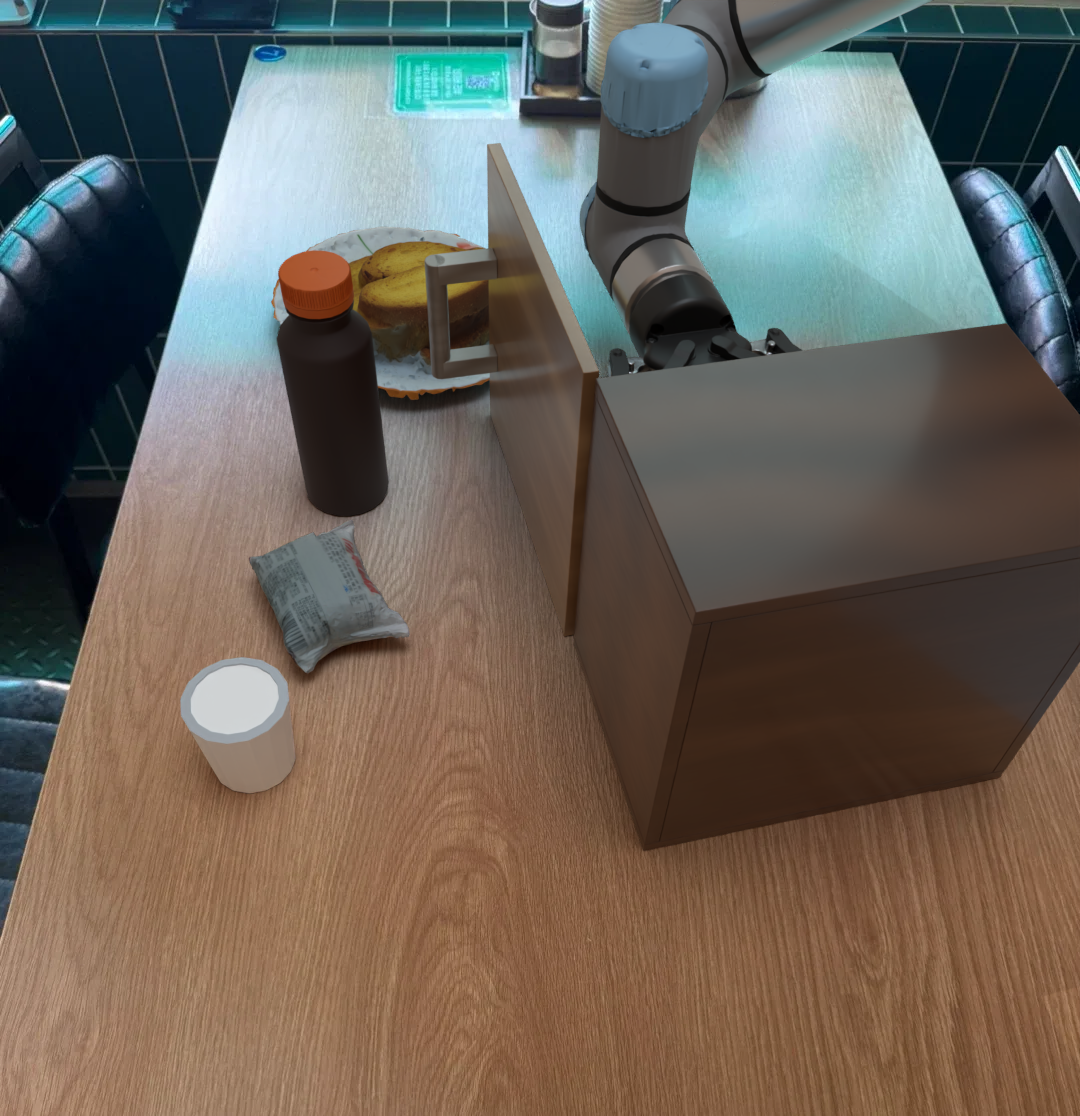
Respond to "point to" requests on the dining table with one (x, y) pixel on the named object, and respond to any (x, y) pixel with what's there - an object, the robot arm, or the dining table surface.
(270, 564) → the packaged food
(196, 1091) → the dining table surface
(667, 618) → the cupboard
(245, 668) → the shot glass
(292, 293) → the bottle
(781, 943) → the dining table surface
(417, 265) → the food on plate
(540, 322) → the cupboard door
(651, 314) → the robot arm
